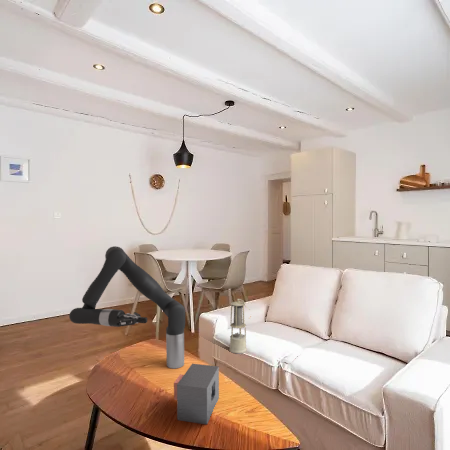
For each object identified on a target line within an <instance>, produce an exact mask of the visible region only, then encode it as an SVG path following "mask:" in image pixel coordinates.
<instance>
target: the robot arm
mask: <svg viewBox="0 0 450 450" xmlns="http://www.w3.org/2000/svg"><path fill="white" fill-rule="evenodd" d="M104 257H105V260H104V263H103V265H102V267H101V269H100V272H99V273H98V274H97V276H96V277H95V278H94V280H93V281H92V282H91V284H89V286H88V287H87V290H86V291H85V293H84V295H83V296H82V299H81V300H82V303H83V305H82V307H76V308H74V309H72V310H71V311H70V312H69V315H68V316H69V321H70V322H72V323H73V324H78V325H79V324H80V325H82V324H83V325H86V324H90V325H99V326H104V327H113V328H114V327H117V328H120V327H125V326H127V327H128V326H134V325H136V324H146V323H148V317H146V316H145V317H144V316H141V313H138V312H133V314H132V313H130V312H129V313H126V312H125V311H124V309H117V308H116V309H113V308H112V309H111V308H96V307H97V304H98V302H99V301H100V299H101V297H102V296H103V293H104V292H105V290H106V288H107V287H108V285H109V284H110V282H111V280H112V279H113V278H114V276H115V275H116V274H117V272H118V271H120V272H121V273H123V275H124V276H125V277H126V278H127V279H128V281H129V282H130V283H131V285H132V286H133V287H134V288H135V289H136V290H137V291H138V292H139V293H140V294H142V295H143V296H144V297H145V298H147V299H149V300H150V301H151V302H153V303H155V304H156V305H157V306H158V307H159V308H160V309H161V311H162V312H163V313H164V315H166V317H167V326H166V328H165V331H166V332H165V338H166V349H165V351H166V367H167V368H169V369H179V368H182V367H184V365H185V328H186V308H185V306H184V305H183V304H181V303H180V302H179V301H178V300H176V299H174V298H173V297H171V296H170V295H169V294H167V293H166V292H165V290H164V289H163V287H162V286H161V285H160V284H159V283H158V282H157V280H156V279H155V278H154V277H152V276H151V275H150V274H149V273H148V272H147V271H145V270H144V269H143V268H142V267H140V265H138V264H136V262H134V261H133V260H132V259H131V258H130V256H128V254H127V253H126V252H125V251H124V249H123V248H122V247H120V246H110V247H109V248H108V249H107V250H106V251H105V255H104Z"/></svg>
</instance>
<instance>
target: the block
mask: <svg viewBox="0 0 450 450" xmlns="http://www.w3.org/2000/svg"><path fill="white" fill-rule="evenodd" d="M219 370H220V368H219V366H217V365H210V364H201V363H191V364H190V366H189V368H188V369H187V370H186V371H185V373H184V374H183V375H184V376H183V377H182V379H181V380H180V381H179V383H178V384H177V400H176V403H177V404H176V413H177V414H176V415H177V416H176V419H177V421H183V422H189V423H194V424H199V425H200V424H201V425H208V424H209V421H210V419H211V417H212V415H211V414H213V413H214V410H215V408H216V406H217V404H218V401H219V399H220V375H219V374H220V371H219ZM211 387H212V394H211ZM216 403H217V404H216ZM215 405H216V406H215ZM214 407H215V408H214ZM213 409H214V410H213ZM212 412H213V413H212ZM210 416H211V417H210Z"/></svg>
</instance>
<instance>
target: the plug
mask: <svg viewBox="0 0 450 450" xmlns="http://www.w3.org/2000/svg"><path fill="white" fill-rule="evenodd" d="M183 376H184V374H181V373H180V374H179V375H178V377H177V378H176V379H175V381H174V382H173V400H175V401H177V384H178V383H179V381H180V380H181V379H182V377H183ZM211 394H212V387H211Z"/></svg>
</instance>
